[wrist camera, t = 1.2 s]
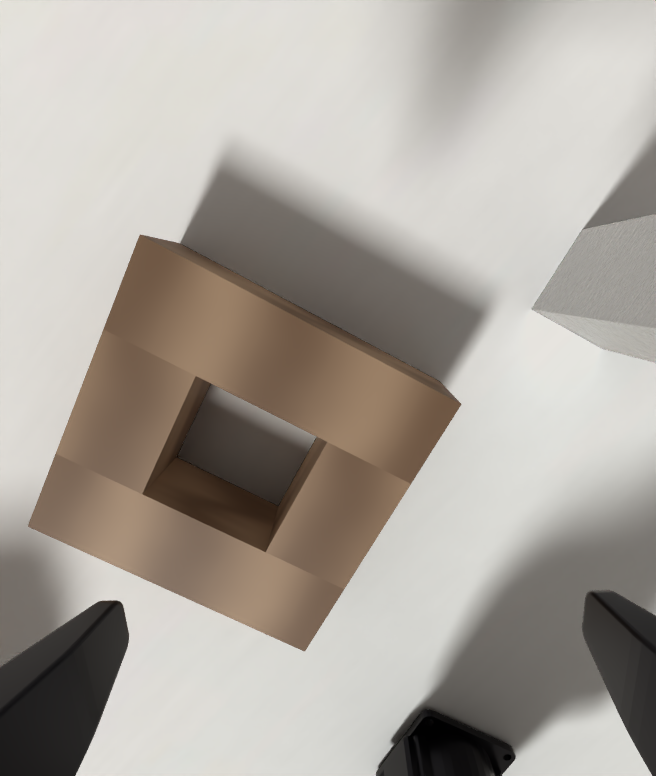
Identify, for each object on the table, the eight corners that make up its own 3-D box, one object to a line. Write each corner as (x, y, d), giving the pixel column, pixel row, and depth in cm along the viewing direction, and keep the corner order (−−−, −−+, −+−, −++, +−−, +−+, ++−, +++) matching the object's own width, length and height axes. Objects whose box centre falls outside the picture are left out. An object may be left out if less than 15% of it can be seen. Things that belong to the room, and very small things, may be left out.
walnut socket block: (439, 381, 21) (461, 404, 17) (310, 592, 24) (304, 651, 20) (179, 243, 20) (139, 234, 16) (80, 484, 23) (27, 526, 19)
